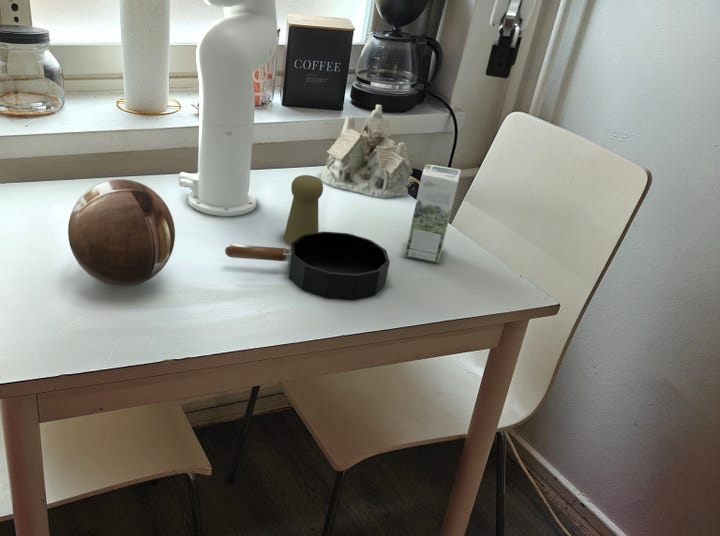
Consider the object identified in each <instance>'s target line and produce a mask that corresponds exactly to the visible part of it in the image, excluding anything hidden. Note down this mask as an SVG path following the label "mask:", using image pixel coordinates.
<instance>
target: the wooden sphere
mask: <svg viewBox="0 0 720 536" xmlns="http://www.w3.org/2000/svg"><path fill="white" fill-rule="evenodd" d="M67 227H68V228H67V237H68V244H69V247H70V251H71V253H72V255H73V258H75V261H76V262H77V264H78V265H79V266H80V268H82V269H83V270H84V272H86V273H87V274H88V275H89V276H90V277H92V278H93V279H95V280H97V281H99V282H101V283H103V284H106V285H109V286H113V287H133V286H137V285H140V284H143V283H146V282H148V281H149V280H151V279H152V278H154V277H155V276H156V275H158V274H159V273H160V272H161V271H162V270H163V269H164V268H165V266H166V265H167V263H168V262H169V260H170V258H171V256H172V254H173V250H174V247H175V242H176V227H175V222H174V218H173V215H172V213H171V211H170V208H169V207H168V205H167V203H166V202H165V201H164V199H163V198H162V197H161V196H160V195H159V194H158V193H157V192H156V191H155V190H154V189H152V188H150V187H149V186H147V185H146V184H143V183H141V182H138V181H135V180H131V179H125V178H117V179H116V178H114V179H109V180H105V181H102V182H99V183H97V184H95V185H93V186H92V187H90V188H89V189H88V190H86V191H85V192H84V193H83V194H82V195H81V196H80V197H79V198H78V199H77V201H76V203H75V204H74V206H73V208H72V210H71V213H70V216H69V219H68V226H67Z"/></svg>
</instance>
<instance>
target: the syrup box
mask: <svg viewBox="0 0 720 536" xmlns="http://www.w3.org/2000/svg"><path fill="white" fill-rule="evenodd" d="M461 172H462V171H461V169H459V168H453V167H447V166H440V165H434V164H429V163H426V164H425V166H424V167H423V170H422V174H421V177H420V181H419V185H418V191H417V195H416V200H415V205H414V209H413V214H412V219H411V223H410V228H409V232H408V233H409V234H408V237H407V242H406V247H405V252H404V257H405V258H409V259H415V260H419V261H423V262H428V263H429V262H430V263H433V264H439V262H440V257H441V254H442V250H443V246H444V242H445V238H446V234H447V230H448V225H449V221H450V217H451V213H452V209H453V205H454V202H455V198H456V193H457V189H458V186H459V181H460V177H461Z"/></svg>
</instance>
